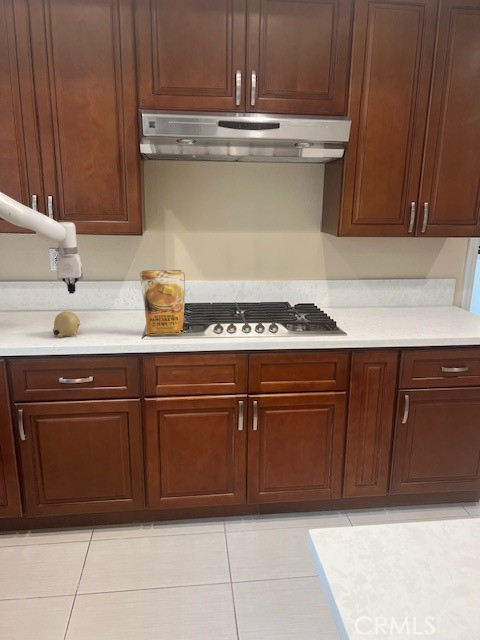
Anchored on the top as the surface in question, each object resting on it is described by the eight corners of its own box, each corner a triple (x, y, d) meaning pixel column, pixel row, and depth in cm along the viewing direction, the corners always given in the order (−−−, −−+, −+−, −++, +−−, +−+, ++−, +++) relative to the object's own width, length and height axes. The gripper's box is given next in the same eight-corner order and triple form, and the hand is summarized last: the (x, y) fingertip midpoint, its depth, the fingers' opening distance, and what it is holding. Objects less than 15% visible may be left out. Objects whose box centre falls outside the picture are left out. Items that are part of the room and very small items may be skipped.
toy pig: (67, 340, 204) (46, 325, 200) (85, 319, 204) (65, 304, 200) (66, 346, 195) (45, 331, 191) (85, 324, 195) (64, 309, 191)
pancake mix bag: (142, 332, 205) (139, 269, 198) (185, 330, 209) (184, 268, 201) (142, 337, 199) (139, 272, 191) (187, 335, 202) (186, 271, 195)
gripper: (47, 252, 196) (51, 295, 201) (83, 252, 198) (87, 294, 203) (52, 250, 204) (57, 291, 209) (87, 250, 205) (91, 291, 210)
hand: (71, 292), depth 206 cm, fingers closed
